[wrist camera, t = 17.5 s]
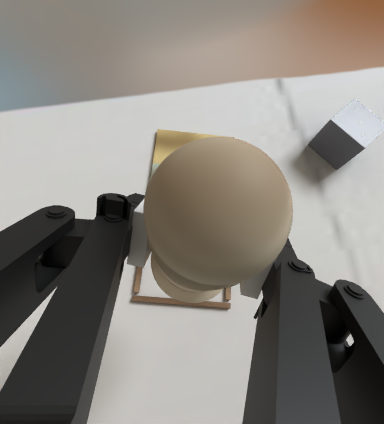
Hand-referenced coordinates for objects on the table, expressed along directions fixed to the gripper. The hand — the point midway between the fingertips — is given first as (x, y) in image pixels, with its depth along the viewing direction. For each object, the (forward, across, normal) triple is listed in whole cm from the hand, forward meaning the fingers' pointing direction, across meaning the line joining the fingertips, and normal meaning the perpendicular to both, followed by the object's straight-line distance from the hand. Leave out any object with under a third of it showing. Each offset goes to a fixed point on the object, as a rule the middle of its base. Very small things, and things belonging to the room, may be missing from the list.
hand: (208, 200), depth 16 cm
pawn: (0, 0, +5) cm, 5 cm away
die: (+28, -18, -3) cm, 33 cm away
